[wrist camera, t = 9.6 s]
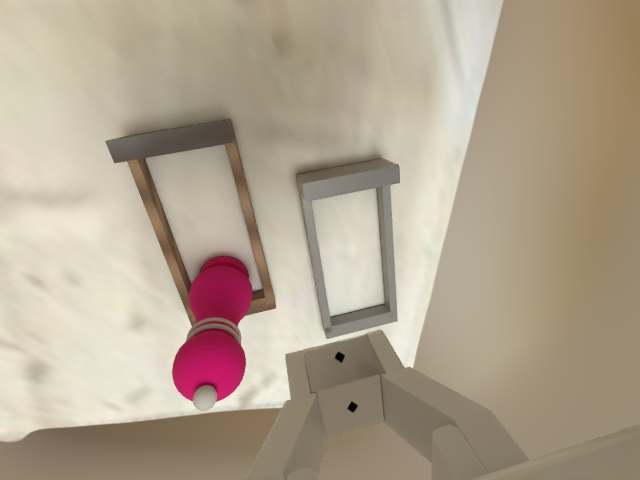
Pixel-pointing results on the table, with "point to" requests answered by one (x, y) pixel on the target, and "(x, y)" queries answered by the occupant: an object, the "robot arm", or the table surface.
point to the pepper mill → (214, 334)
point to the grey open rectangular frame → (381, 178)
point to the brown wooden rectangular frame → (134, 154)
